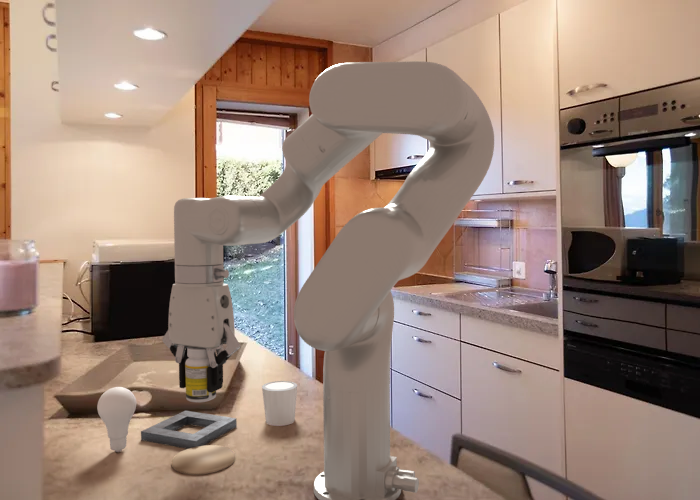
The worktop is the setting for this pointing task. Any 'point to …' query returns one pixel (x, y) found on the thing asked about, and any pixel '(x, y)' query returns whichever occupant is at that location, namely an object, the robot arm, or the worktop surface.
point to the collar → (169, 436)
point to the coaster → (203, 459)
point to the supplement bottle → (197, 375)
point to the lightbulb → (117, 414)
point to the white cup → (279, 402)
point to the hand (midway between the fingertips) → (201, 386)
